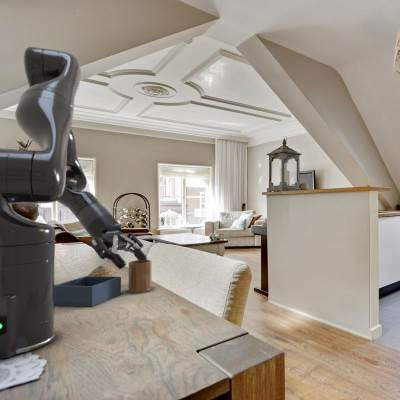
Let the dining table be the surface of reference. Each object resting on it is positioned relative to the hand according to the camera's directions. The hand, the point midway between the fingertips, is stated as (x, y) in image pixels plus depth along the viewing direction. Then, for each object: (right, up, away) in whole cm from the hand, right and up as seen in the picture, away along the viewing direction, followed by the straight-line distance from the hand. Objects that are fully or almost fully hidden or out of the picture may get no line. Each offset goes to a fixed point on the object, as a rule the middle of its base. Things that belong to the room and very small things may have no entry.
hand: (134, 263), depth 87 cm
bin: (-7, -7, -9) cm, 13 cm away
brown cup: (+2, -7, 0) cm, 8 cm away
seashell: (-17, -8, +12) cm, 23 cm away
